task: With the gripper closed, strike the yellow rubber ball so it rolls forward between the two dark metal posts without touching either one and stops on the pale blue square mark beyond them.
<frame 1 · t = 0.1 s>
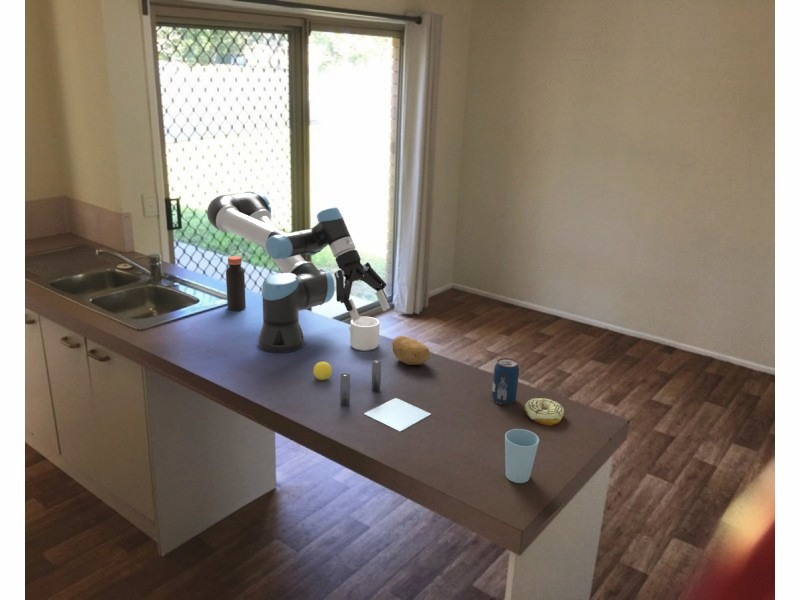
hand: (372, 314, 206), 15 cm above the counter, tool tilted 35°, fingers open, 13 cm apart
decorated donut: (543, 417, 180), on the counter
post 1: (344, 404, 182), on the counter
potato: (410, 363, 209), on the counter
ball: (322, 370, 195), on the counter
bottle: (236, 308, 250), on the counter
cup: (517, 477, 152), on the counter
soda can: (503, 400, 188), on the counter
mug: (365, 345, 222), on the counter
post 2: (375, 389, 191), on the counter
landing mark: (397, 414, 178), on the counter
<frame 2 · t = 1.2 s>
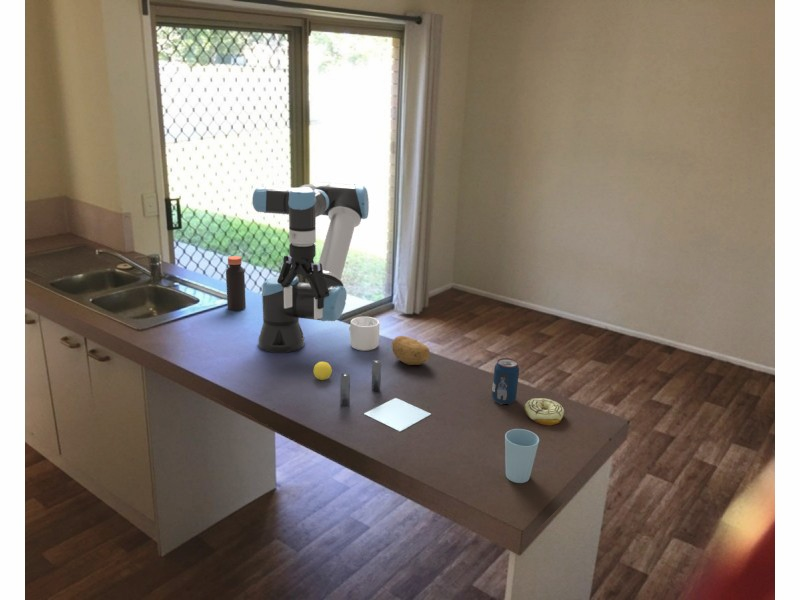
hand: (302, 312, 196), 19 cm above the counter, tool pointing down, fingers open, 12 cm apart
nothing on the counter moved.
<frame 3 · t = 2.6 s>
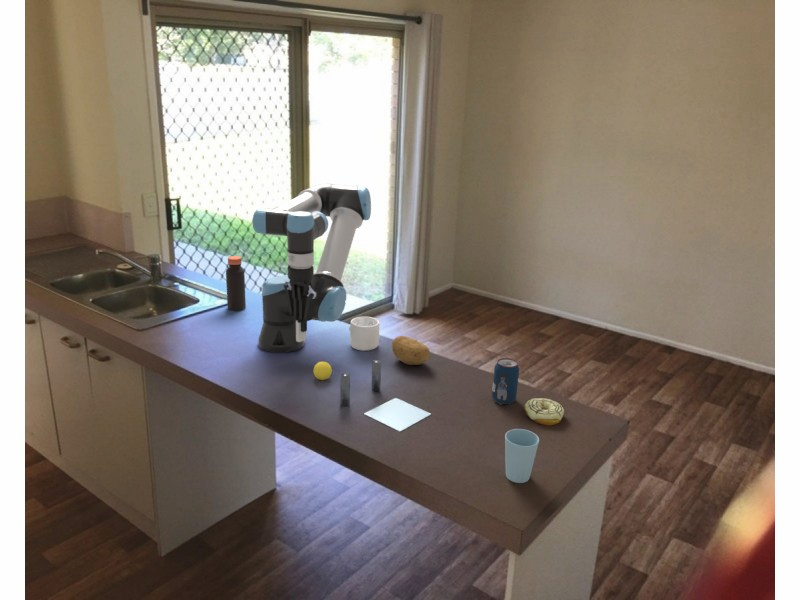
hand: (301, 340, 198), 10 cm above the counter, tool pointing down, fingers closed
nothing on the counter moved.
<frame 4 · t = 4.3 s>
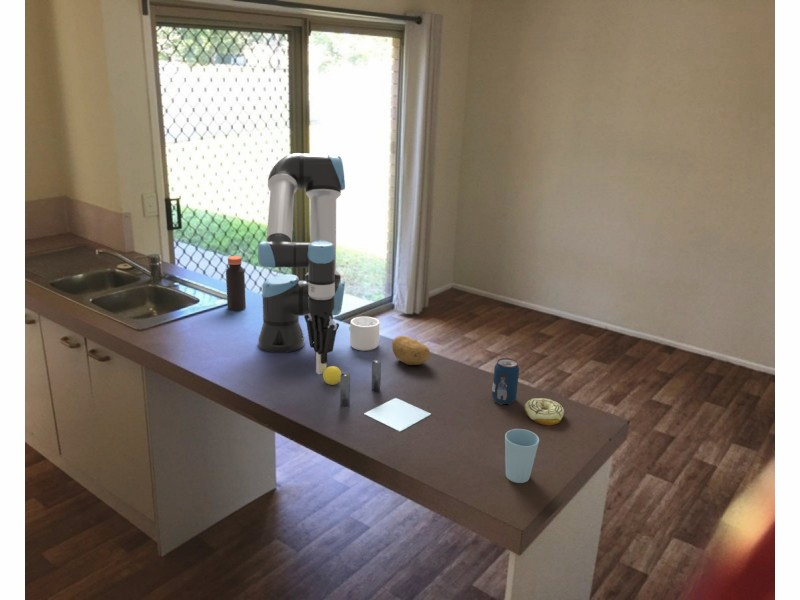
hand: (321, 372, 194), 3 cm above the counter, tool pointing down, fingers closed
ball: (332, 375, 192), on the counter
everything else where it was.
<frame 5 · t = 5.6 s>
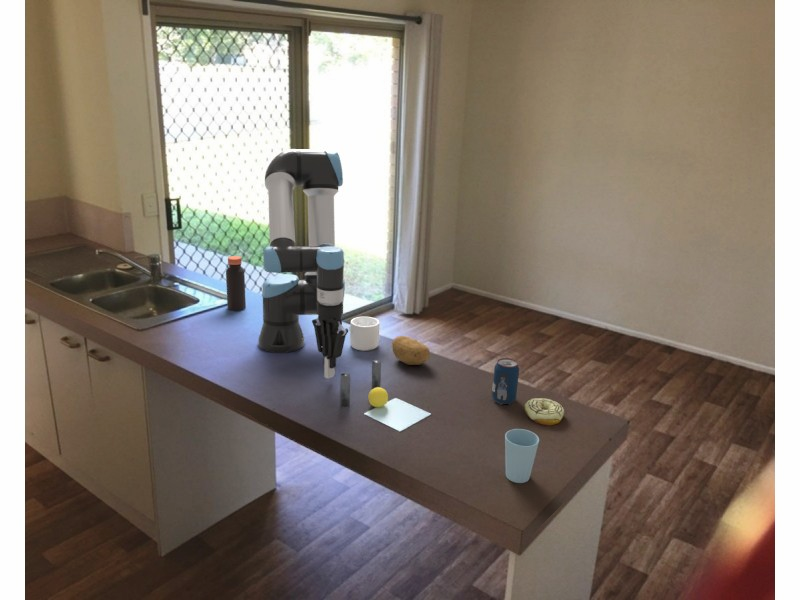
hand: (329, 376, 193), 2 cm above the counter, tool pointing down, fingers closed
ball: (378, 397, 181), on the counter
everything else where it was.
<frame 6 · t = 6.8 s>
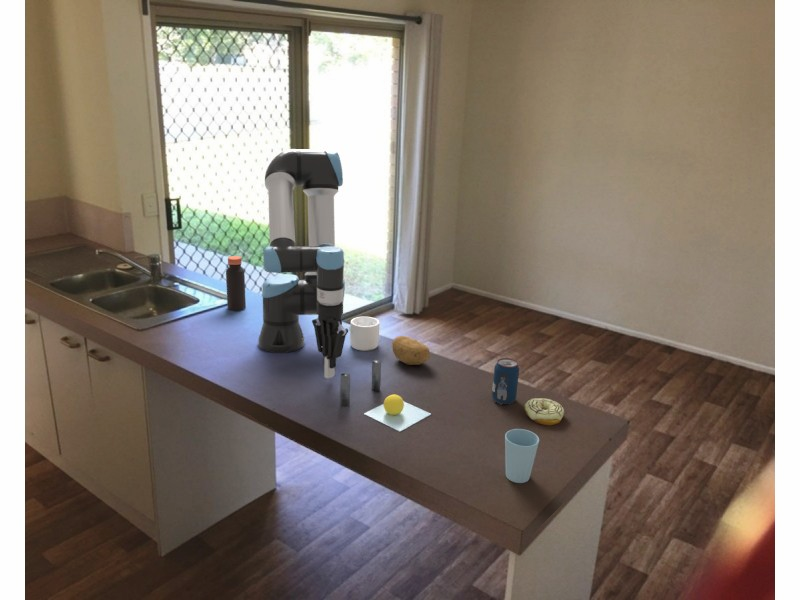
hand: (329, 376, 193), 2 cm above the counter, tool pointing down, fingers closed
ball: (393, 404, 177), on the counter
everything else where it was.
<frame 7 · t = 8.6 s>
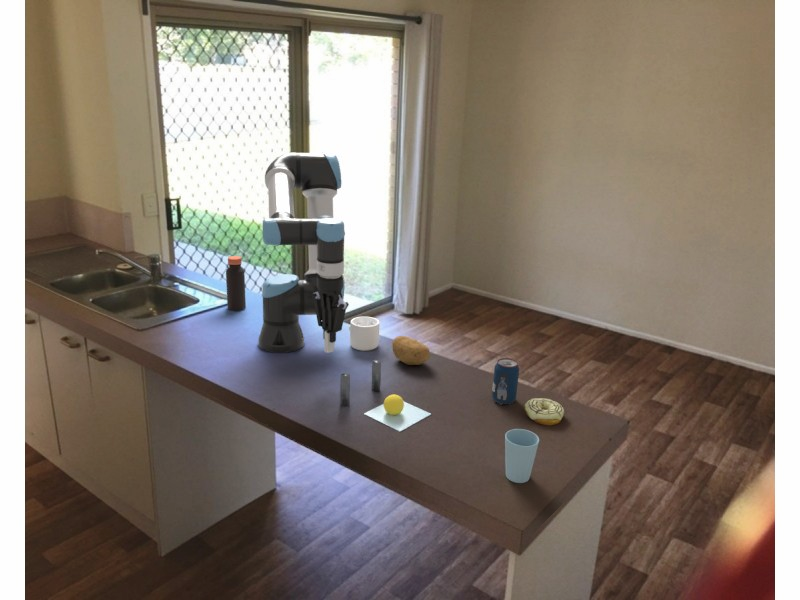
hand: (329, 350, 191), 10 cm above the counter, tool pointing down, fingers closed
nothing on the counter moved.
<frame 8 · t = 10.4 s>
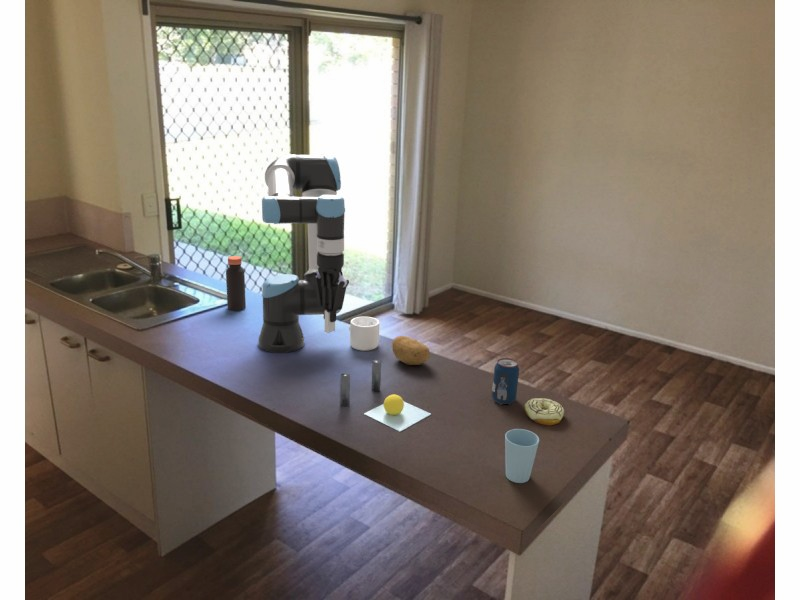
hand: (329, 331, 189), 16 cm above the counter, tool pointing down, fingers closed
nothing on the counter moved.
at the end: ball 1.2 cm from the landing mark (horizontally); ball never touched post 2; ball never touched post 1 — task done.
